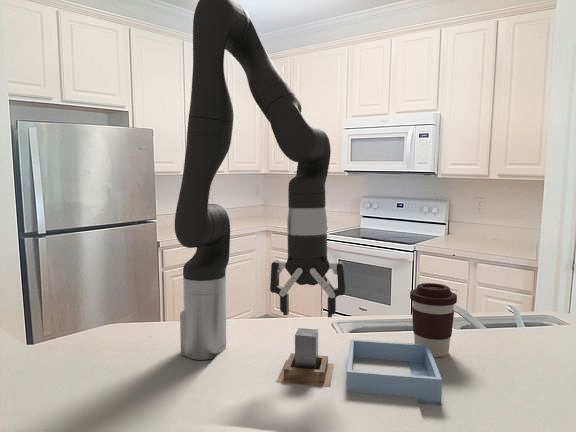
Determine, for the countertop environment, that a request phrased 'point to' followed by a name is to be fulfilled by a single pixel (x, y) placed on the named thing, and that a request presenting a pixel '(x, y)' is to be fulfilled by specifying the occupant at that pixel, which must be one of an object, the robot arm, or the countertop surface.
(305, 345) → the grey rectangular peg
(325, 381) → the socket block
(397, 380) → the bin
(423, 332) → the coffee cup
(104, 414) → the countertop surface
